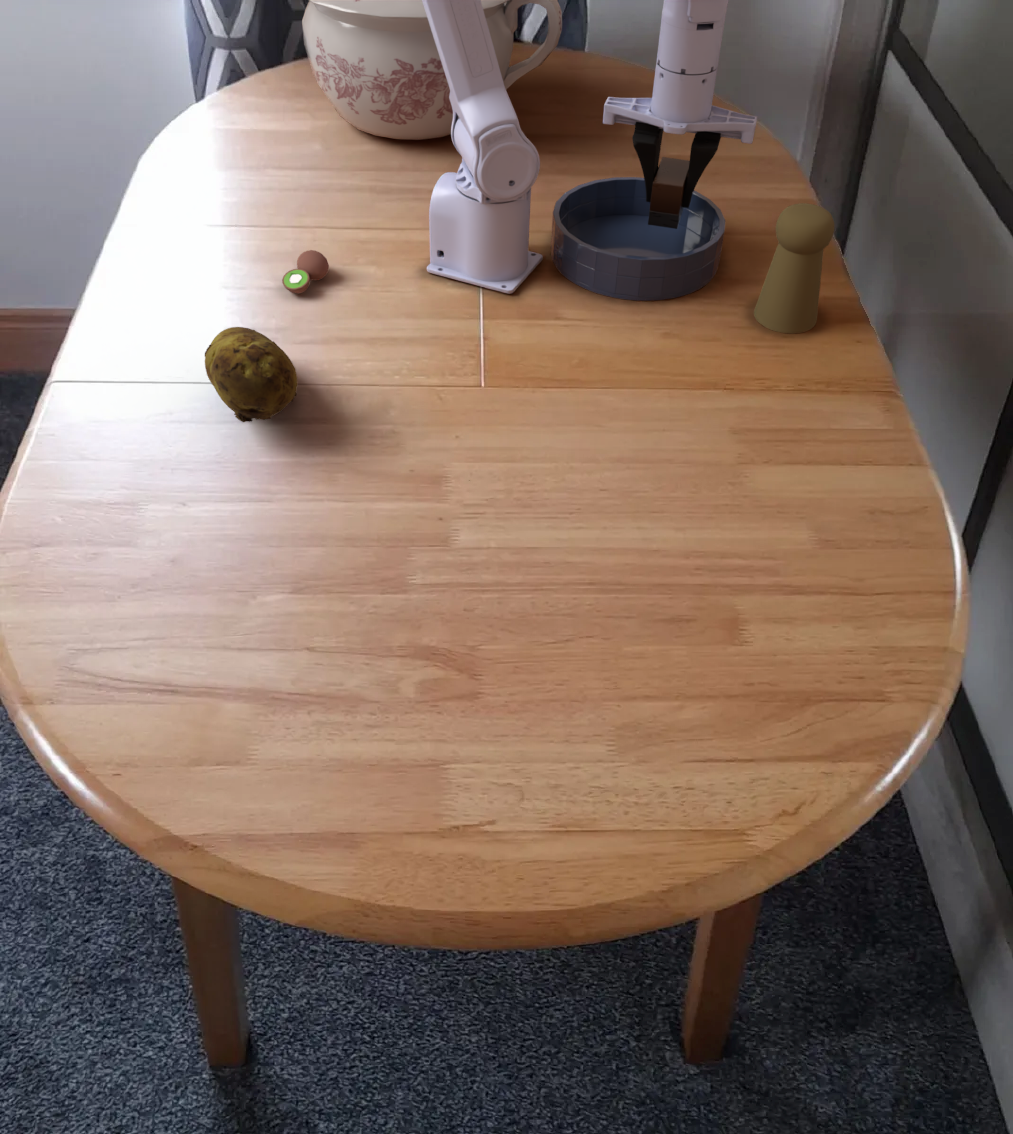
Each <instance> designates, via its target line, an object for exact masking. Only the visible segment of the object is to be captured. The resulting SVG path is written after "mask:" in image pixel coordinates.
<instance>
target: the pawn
mask: <svg viewBox="0 0 1013 1134" xmlns="http://www.w3.org/2000/svg"><path fill="white" fill-rule="evenodd" d="M834 233H835V221H834V218H833V215H832V214H831V212H830V211H829V210H827V209H826V208H824V207H823V206H819V205H817V204H815V203H814V204H813V203H805V202H804V203H803V202H802V203H801V202H800V203H795V204H791V205H788V206H786V207H785V208H784V209H783V210H781V212H780V214H779V216H778V217H777V221H776V224H775V235H776V239H777V241H778V242H777V246H776V248H775V251H774V255H773V257H772V259H771V263H770V265H769V268H768V270H767V274H766V277H765V279H764V282H763V285H762V288H761V290H760V293H759V296H758V299H757V302H756V305H755V307H754V310H753V316H754V319H755V320H756V321H757V322H758V324H760V325H761V326H762V327H764V328H766V329H768V330H771V331H773V332H776V333H777V332H778V333H781V334H801V333H805V332H808V331H811V329H814V327H816V324H817V320H818V313H819V311H818V310H819V301H820V291H821V280H822V269H823V257H824V249H826V248H827V246H829V245H830V243H831V242H832V239H833V236H834Z"/></svg>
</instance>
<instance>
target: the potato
mask: <svg viewBox="0 0 1013 1134" xmlns="http://www.w3.org/2000/svg"><path fill="white" fill-rule="evenodd" d="M204 367H205V372H206V376H207V378H208V380H209V382H210V384H211V385H212V386H213V388H214V389H215V391H216V393H217V395H218V396H219V398H220V400H221V401H222V402H223V403H224V405H225V406H227V408H228V409H230V410H231V411H233V412H234V413H233V415H234V417H235V418H236V419H237V420H239V421H241V423H245V422H246V423H251V422H252V421H253V420H256V421H257V420H259V421H260V420H261V421H262V420H263V421H264V420H265V421H266V420H271V418H272V417H274V416H276V415H277V414H279V413H280V412H282V411H283V410H284V409H285V408H286V407H287V406H288V405H289V404H290V403H292V402H293V401H294V400H295V398H297V390H298V374H297V370H296V367H295V365H294V364H293V361H292V360H291V358H290V357H289V355H288V354H287V353H286V352H285V351H284V350H283V349H282V348H281V347H280V346H279V345H278V344H277V343H276V342H275V341H274V340H273V341H272V340H271V339H270V338H269V337H268V336H266V335H264V334H263V333H261V332H258V331H257V330H255V329H252V328H248V327H245V326H232V327H228V328H225V329H223V330H222V331H220V332H219V333H218V334H216V336H215V337H214V338H213V339H212V341H211V343H210V344H208V346H207V348H206V350H205V351H204Z"/></svg>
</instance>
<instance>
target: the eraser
mask: <svg viewBox="0 0 1013 1134" xmlns="http://www.w3.org/2000/svg"><path fill="white" fill-rule="evenodd" d="M689 162H690V159H689V160H688V159H681V158H674V157H673V158H672V157H667V156H662V157H661V160H660V161H659V165H658V170H657V173H656V176H655V178H654V181H653V186H652V194H651V202H650V211H649V218H648V225H654V226H661V227H667V228H674V229H677V228H678V225H679V222H680V218H681V215H682V212H683V209H684V207H682V203H683V195H684V191H685V187H686V183H687V178H688V170H689Z"/></svg>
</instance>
